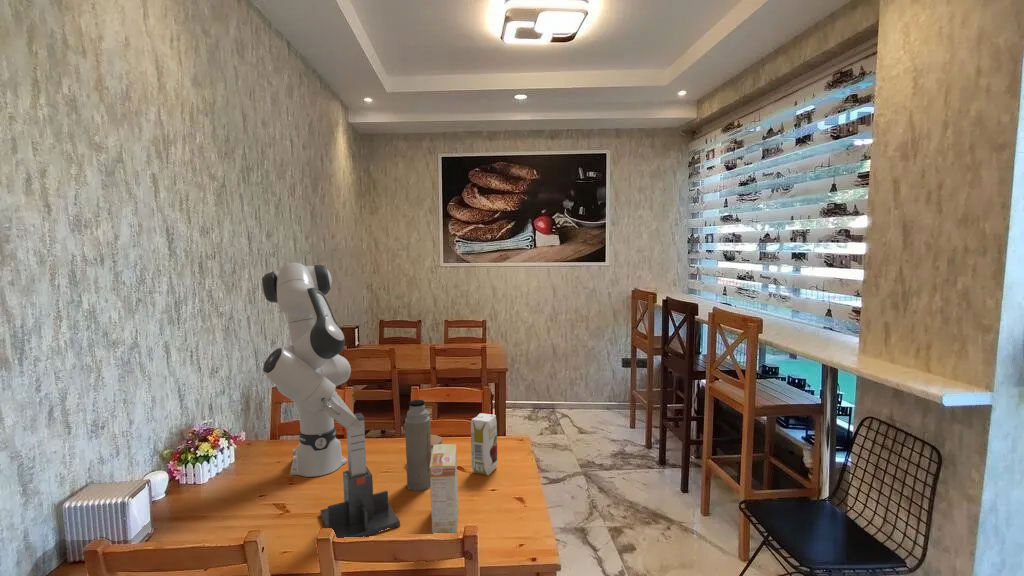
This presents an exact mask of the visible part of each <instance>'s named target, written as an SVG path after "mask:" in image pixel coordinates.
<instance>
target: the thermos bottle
mask: <svg viewBox="0 0 1024 576" xmlns="http://www.w3.org/2000/svg"><path fill="white" fill-rule="evenodd" d="M425 402H426V401H425V400H423V399H414V400H410V401H409V402H408V405H409V410H408V411H407V412H406V418H405V419H404V422H405V423H404V428H405V456H406V486H407V488H408V490H411V491H414V492H415V491H416V492H419V491H424V490H425V491H426V490H427V489H429V488H431V485H430V462H431V435H432V434H431V417H430V416H429V412H428V409H426V405H425Z"/></svg>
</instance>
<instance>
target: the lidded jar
mask: <svg viewBox="0 0 1024 576" xmlns="http://www.w3.org/2000/svg"><path fill="white" fill-rule="evenodd" d="M437 444H443V438H442V437H441V436H440V435H436V434H431V456H432V450H433V445H437Z"/></svg>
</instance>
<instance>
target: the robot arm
mask: <svg viewBox="0 0 1024 576" xmlns="http://www.w3.org/2000/svg"><path fill="white" fill-rule="evenodd" d="M332 279H333V278H332V275H331V272H330V271H329V269H328V267H326V266H325V265H321V264H314V265H305V264H302V263H300V262H289V263H287V264H284V265H283V266H281V268H280V269H279V270H278V271H274V270H273V271H271V272H268V273H265V274H264V275H263V277H262V279H261V282H260V289H261V293H262V295H263V297H264V298H265V299H266V301H268V302H270V303H277V304H278V307H279V308H280V310H281V311H282V312H283V313H285V314H286V316H287V322H288V323H287V324H288V329H289V335H290V341H291V345H289V346H287V347H285V348H283V347H279V348H276V349H274V351H272V352H271V353H270V354H269V355H268V357H267V358H266V360H265V361H264V364H263V367H262V371H263V373H264V375H265V377H266V378H267V379H269V381H270V382H272V384H274V385H275V386H276V389H277V390H278V392H279V393H280V394H281V395H282V396H284V397H287V398H288V399H290V400H291V402H293V404H294V405H295V407H296V408H297V412H298V419H299V424H300V426H299V427H300V428H299V429H300V430H299V432H298V433H299V435H298V439H299V440H298V441H299V443H298V444H297V445H298V446H297V447H296V448H294V449H292V455H293V458H292V462H291V466H290V475H291V476H301V477H309V478H312V477H319V476H325V475H328V474H330V473H333V472H335V471H338V469H339V468H340V467H341V466H343V465H345V464H346V463H348V458H346V457H345V456H343V455H342V453H343V452H342V444H341V440H339V439H338V438H337V437H336V436H337V435H336V433H337V430H336V426H335V422H337V423H338V424H340V425H341V426H342V427H343V428H346V430H347V429H348V428H350V427H351V425H352V426H354V427H356V428H357V429H359V428H360V427H361V426H362V423H361V422H360V421H359V420H357V418H356V417H355V415H354V414H355V413H353V411H352V410H351V409H350V408H349V406H348V405H347V404H346V403H345V402H344V400H343V399H342V398H341V396H340V395H339V394H338V392H337V391H336V388H337V387H338V386H340V385H342V384H343V383H346V382H347V381H348V380H349V378H350V377H351V371H352V368H351V364H350V362H349V360H347V359H346V357H344V356H342V355H340V353H342V352H343V351H344V349H345V345H346V337H345V334H344V332H343V331H342V329H341V328H340V326H339V324H338V323H337V320H336V318H335V315H334V313H333V311H332V308H331V306H330V304H329V301H328V299H327V296H326V295H327V294H328V293H329V292H330V291H331V289H332V288H331V286H332V283H333V280H332ZM334 421H335V422H334Z"/></svg>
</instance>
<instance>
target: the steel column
mask: <svg viewBox="0 0 1024 576" xmlns="http://www.w3.org/2000/svg"><path fill="white" fill-rule="evenodd" d="M353 414H354V415H355V417H356V418H357V420H359V421H360V422H361V423H362V426H361V427H360V428H359V429H357V428H356V427H354V426H352V425H351V427H350V428H348V429H347V428H346V442H347V464H348V465H347V466H348V470H349V473H348V476H349V477H350V479H353V478H357V477H361V476H365V475H367V474H366V466H367V459H366V458H367V457H366V456H367V455H366V434H365V433H366V429H365V427H366V426H365V416H364V414H363V413H362V412H357V413H353Z"/></svg>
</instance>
